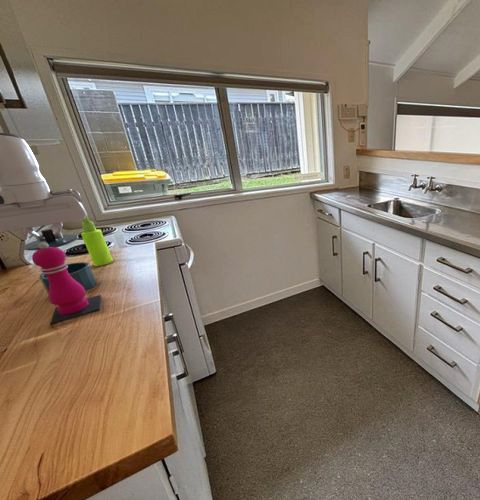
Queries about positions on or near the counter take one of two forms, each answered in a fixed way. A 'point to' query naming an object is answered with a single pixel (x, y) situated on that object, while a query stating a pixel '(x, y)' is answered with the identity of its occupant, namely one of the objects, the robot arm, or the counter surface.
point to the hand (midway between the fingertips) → (50, 239)
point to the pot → (76, 275)
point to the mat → (92, 307)
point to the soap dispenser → (95, 243)
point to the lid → (51, 240)
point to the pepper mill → (60, 280)
